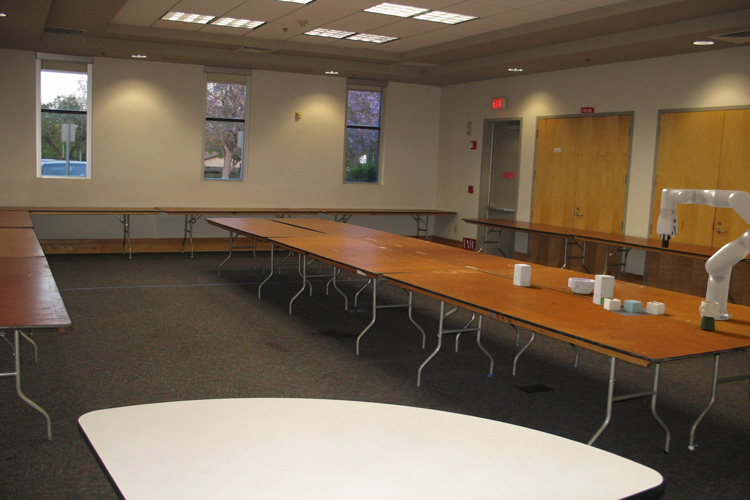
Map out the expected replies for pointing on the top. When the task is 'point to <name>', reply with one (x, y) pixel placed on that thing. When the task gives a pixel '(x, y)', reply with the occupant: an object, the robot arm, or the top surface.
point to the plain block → (632, 306)
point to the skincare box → (603, 288)
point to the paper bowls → (581, 285)
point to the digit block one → (655, 308)
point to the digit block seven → (612, 304)
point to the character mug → (708, 314)
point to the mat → (627, 313)
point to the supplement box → (522, 275)
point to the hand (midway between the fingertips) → (664, 247)
